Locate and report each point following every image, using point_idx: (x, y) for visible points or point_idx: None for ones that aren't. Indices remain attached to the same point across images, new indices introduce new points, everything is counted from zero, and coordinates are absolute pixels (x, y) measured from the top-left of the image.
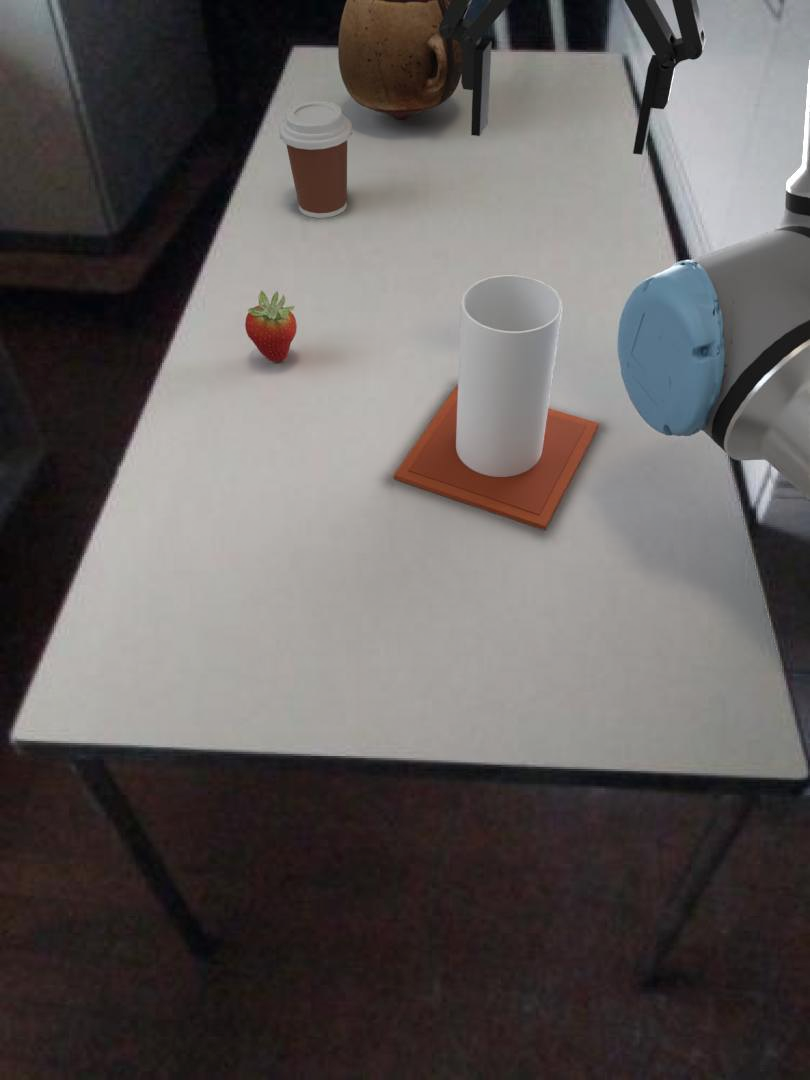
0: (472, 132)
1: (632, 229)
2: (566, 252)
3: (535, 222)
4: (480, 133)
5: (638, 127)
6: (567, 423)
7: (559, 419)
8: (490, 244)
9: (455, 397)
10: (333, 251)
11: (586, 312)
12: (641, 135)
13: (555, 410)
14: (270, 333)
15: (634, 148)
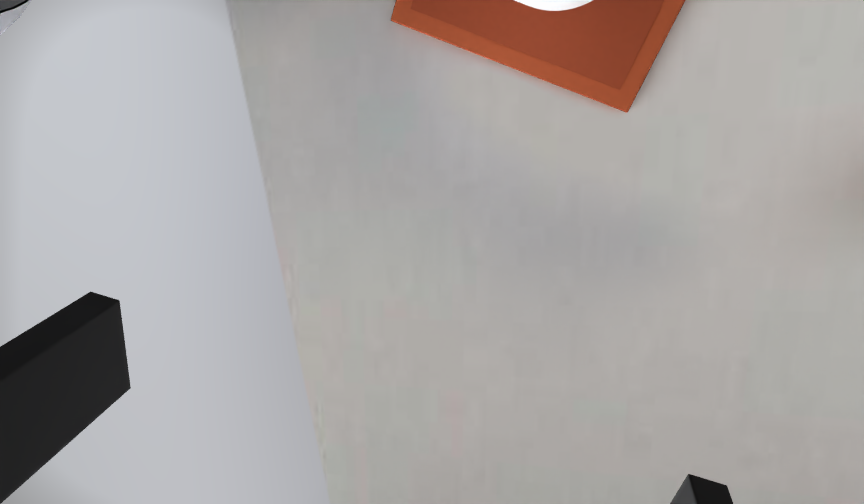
0: (724, 493)
1: (355, 467)
2: (442, 430)
3: (485, 496)
4: (684, 487)
5: (35, 354)
6: (440, 10)
7: (453, 20)
8: (553, 458)
9: (637, 66)
10: (835, 470)
11: (413, 300)
12: (45, 331)
13: (459, 46)
14: None
15: (102, 309)
